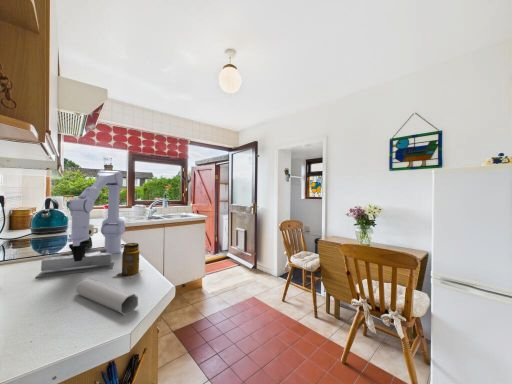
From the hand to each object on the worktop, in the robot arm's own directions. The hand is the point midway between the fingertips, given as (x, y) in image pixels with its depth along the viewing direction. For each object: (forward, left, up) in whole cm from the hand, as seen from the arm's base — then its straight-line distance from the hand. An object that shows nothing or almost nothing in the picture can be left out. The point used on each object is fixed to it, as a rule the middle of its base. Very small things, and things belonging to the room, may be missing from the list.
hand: (79, 259), depth 89 cm
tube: (+35, +12, -5) cm, 37 cm away
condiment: (+13, +18, -5) cm, 23 cm away
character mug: (-41, -4, -5) cm, 41 cm away
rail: (0, 0, -2) cm, 2 cm away
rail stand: (-10, 0, -4) cm, 10 cm away
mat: (0, 0, -4) cm, 4 cm away
